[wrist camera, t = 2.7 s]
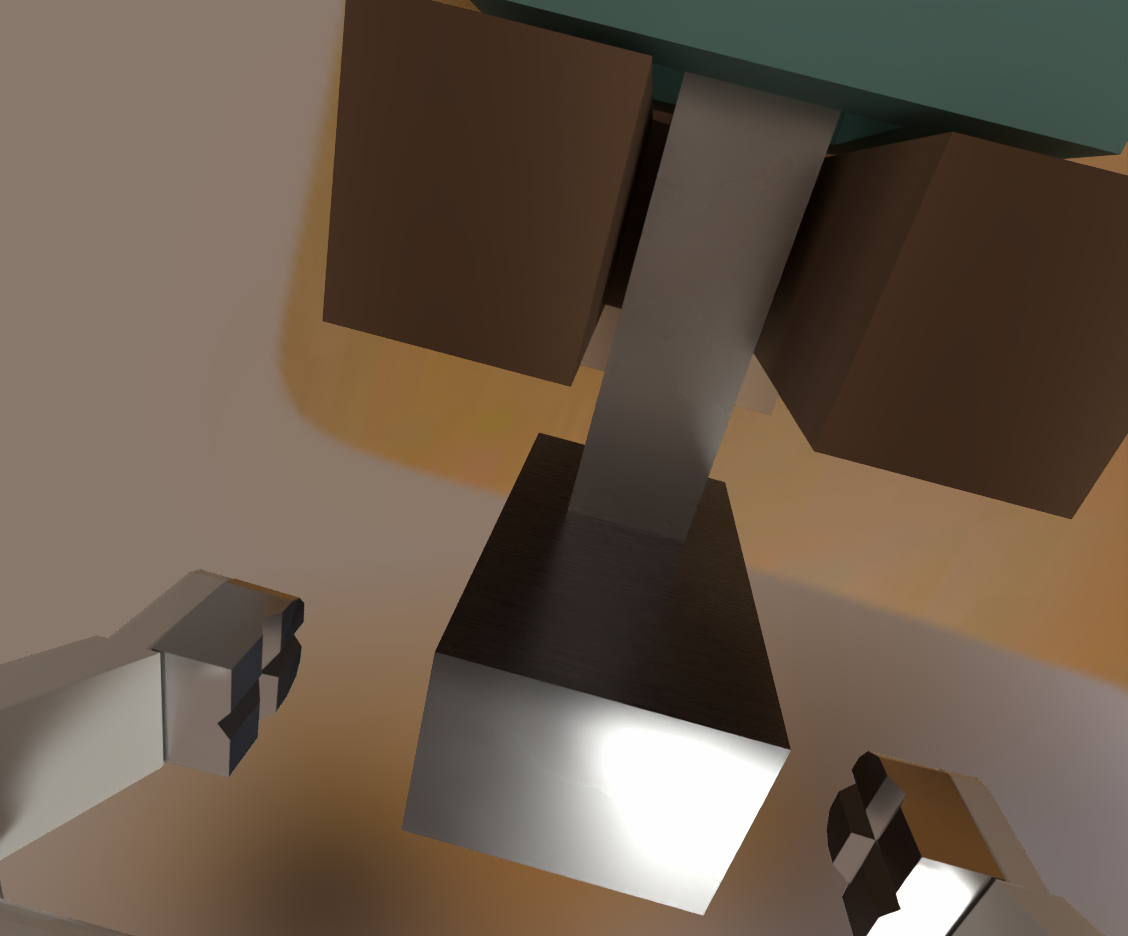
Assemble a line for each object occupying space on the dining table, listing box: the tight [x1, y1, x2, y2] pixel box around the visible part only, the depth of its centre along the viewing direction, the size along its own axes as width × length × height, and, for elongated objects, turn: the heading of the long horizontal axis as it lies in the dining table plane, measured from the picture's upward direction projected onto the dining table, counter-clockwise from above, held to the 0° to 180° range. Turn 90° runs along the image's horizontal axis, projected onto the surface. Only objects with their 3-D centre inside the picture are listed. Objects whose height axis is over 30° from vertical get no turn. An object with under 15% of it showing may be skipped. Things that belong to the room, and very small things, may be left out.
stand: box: [323, 0, 1128, 519], centre depth 10 cm, size 8×16×13 cm, turn 167°
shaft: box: [402, 72, 841, 915], centre depth 9 cm, size 4×14×7 cm, turn 167°
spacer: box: [471, 0, 1128, 159], centre depth 9 cm, size 7×2×6 cm, turn 77°
